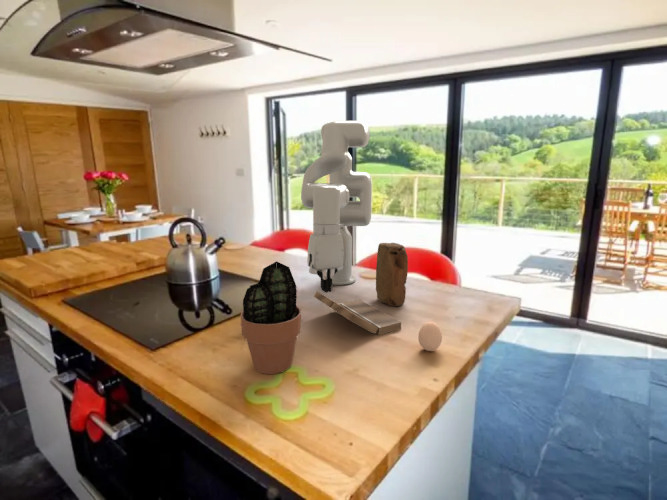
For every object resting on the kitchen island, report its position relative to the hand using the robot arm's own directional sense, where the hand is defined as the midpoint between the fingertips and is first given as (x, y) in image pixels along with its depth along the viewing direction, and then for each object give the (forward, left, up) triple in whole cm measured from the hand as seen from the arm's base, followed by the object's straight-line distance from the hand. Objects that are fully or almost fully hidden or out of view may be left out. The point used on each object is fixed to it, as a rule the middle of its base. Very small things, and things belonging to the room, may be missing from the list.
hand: (326, 290), depth 114 cm
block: (-3, +27, -10) cm, 29 cm away
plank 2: (+10, +3, -6) cm, 12 cm away
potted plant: (+16, -23, -10) cm, 30 cm away
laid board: (+5, +12, -9) cm, 16 cm away
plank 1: (0, +3, -6) cm, 7 cm away
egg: (+29, +14, -10) cm, 33 cm away
